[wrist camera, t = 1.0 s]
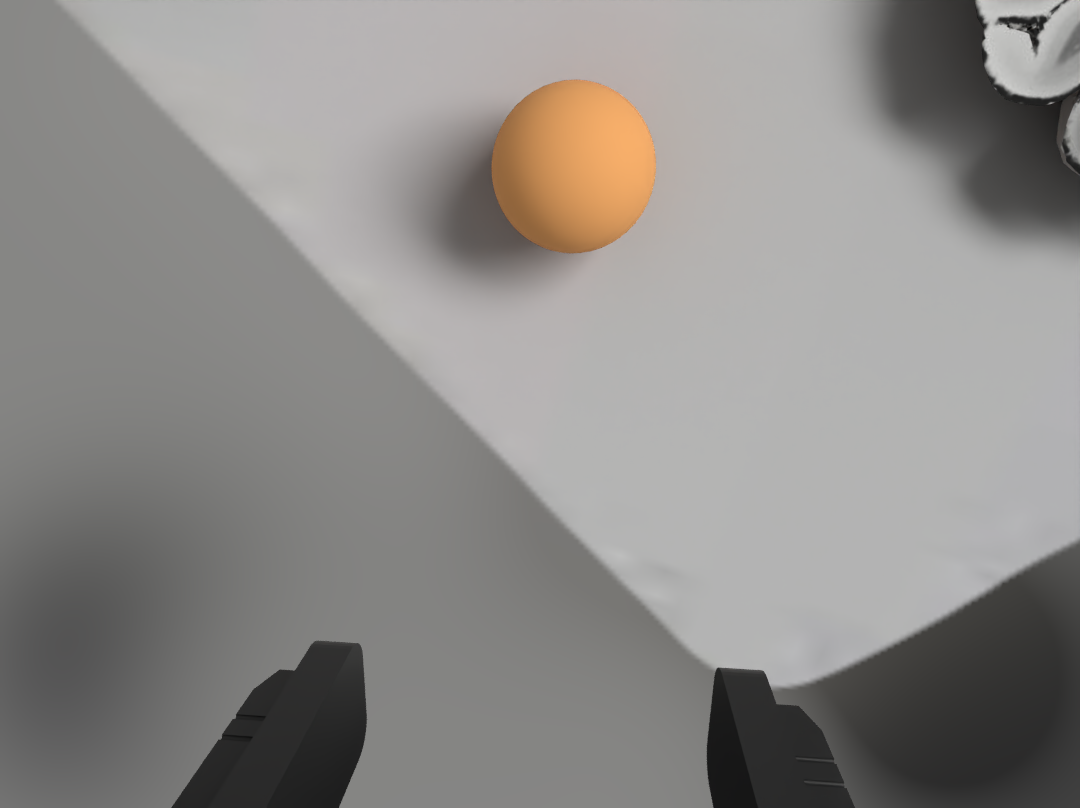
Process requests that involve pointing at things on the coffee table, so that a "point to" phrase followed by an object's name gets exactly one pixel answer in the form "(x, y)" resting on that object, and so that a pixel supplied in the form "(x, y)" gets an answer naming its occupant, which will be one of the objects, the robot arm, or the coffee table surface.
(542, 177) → the ball
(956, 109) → the coffee table surface
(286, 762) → the robot arm
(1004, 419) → the coffee table surface
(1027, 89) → the brain slice
